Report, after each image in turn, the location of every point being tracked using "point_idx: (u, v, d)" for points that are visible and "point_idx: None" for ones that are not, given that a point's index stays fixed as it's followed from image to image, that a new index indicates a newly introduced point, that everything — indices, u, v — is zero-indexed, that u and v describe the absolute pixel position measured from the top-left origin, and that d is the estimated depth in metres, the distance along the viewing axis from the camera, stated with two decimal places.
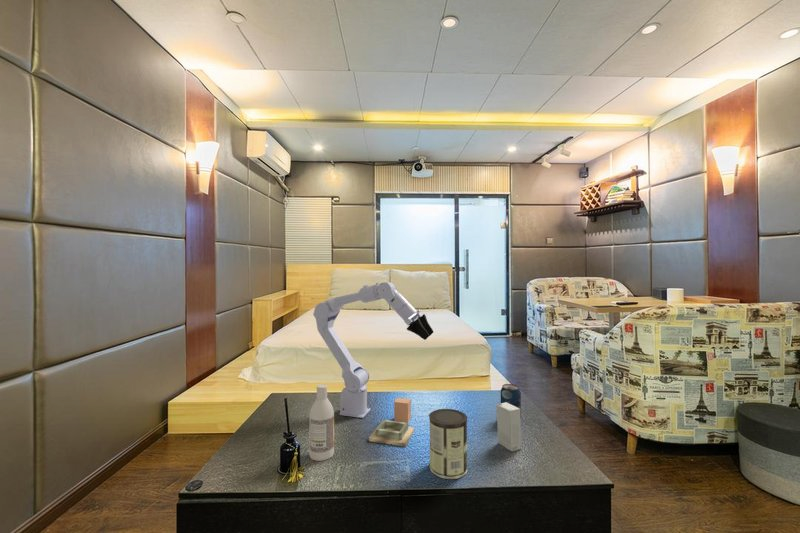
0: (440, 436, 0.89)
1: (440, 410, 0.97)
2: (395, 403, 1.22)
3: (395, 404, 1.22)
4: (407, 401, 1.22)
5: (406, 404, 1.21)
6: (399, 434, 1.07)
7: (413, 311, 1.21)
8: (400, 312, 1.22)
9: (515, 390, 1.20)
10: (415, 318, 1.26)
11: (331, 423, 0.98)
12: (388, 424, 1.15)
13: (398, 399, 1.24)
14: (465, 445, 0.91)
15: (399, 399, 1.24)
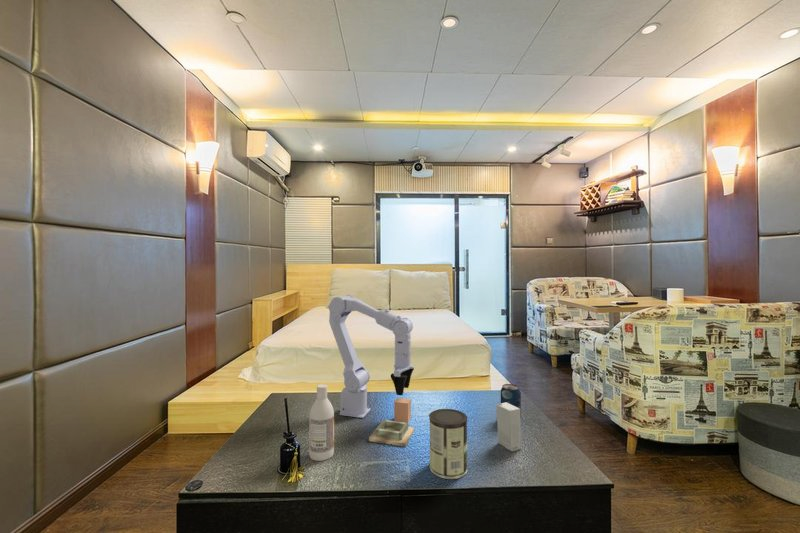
0: (440, 436, 0.89)
1: (440, 410, 0.97)
2: (395, 403, 1.22)
3: (395, 404, 1.22)
4: (407, 401, 1.22)
5: (406, 404, 1.21)
6: (399, 434, 1.07)
7: (407, 364, 1.21)
8: (397, 356, 1.21)
9: (515, 390, 1.20)
10: None
11: (331, 423, 0.98)
12: (388, 424, 1.15)
13: (398, 399, 1.24)
14: (465, 445, 0.91)
15: (399, 399, 1.24)
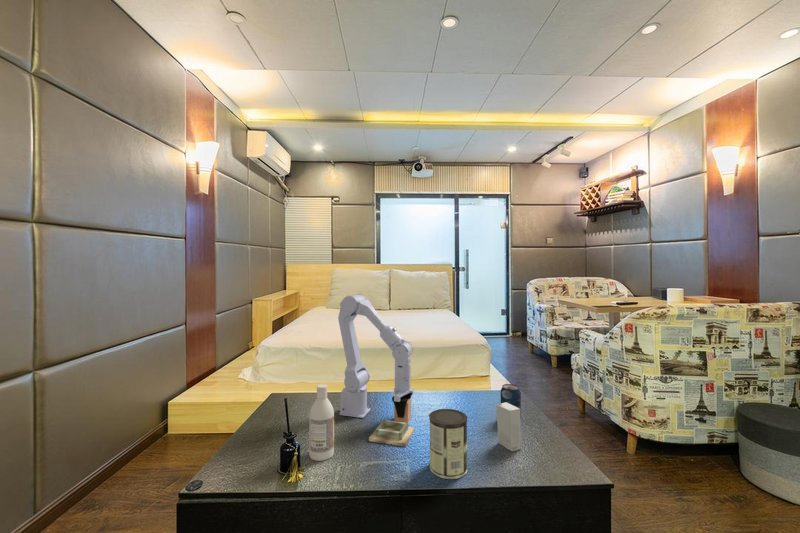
0: (440, 436, 0.89)
1: (440, 410, 0.97)
2: None
3: None
4: (407, 401, 1.22)
5: (406, 404, 1.20)
6: (399, 434, 1.07)
7: (407, 388, 1.21)
8: (397, 380, 1.21)
9: (515, 390, 1.20)
10: None
11: (331, 423, 0.98)
12: (388, 424, 1.15)
13: None
14: (465, 445, 0.91)
15: None
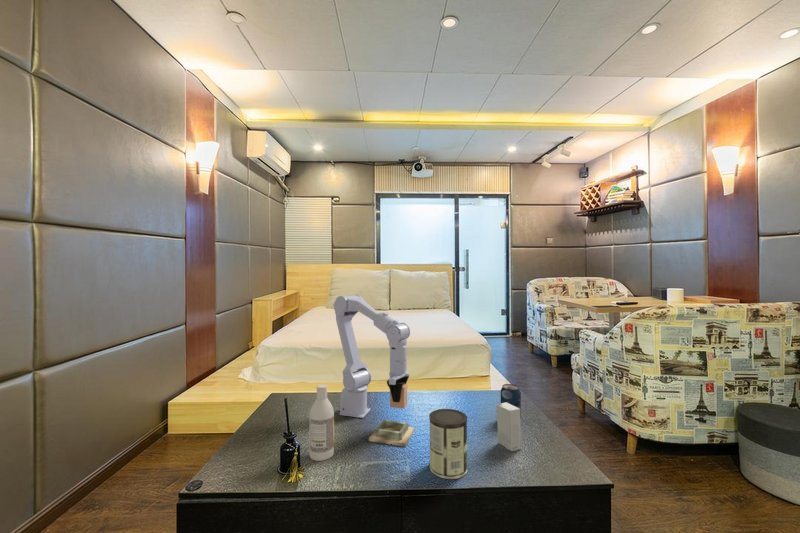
0: (440, 436, 0.89)
1: (440, 410, 0.97)
2: None
3: None
4: (403, 385, 1.17)
5: (402, 388, 1.15)
6: (399, 434, 1.07)
7: (403, 372, 1.16)
8: (392, 363, 1.16)
9: (515, 390, 1.20)
10: None
11: (331, 423, 0.98)
12: (388, 424, 1.15)
13: None
14: (465, 445, 0.91)
15: None
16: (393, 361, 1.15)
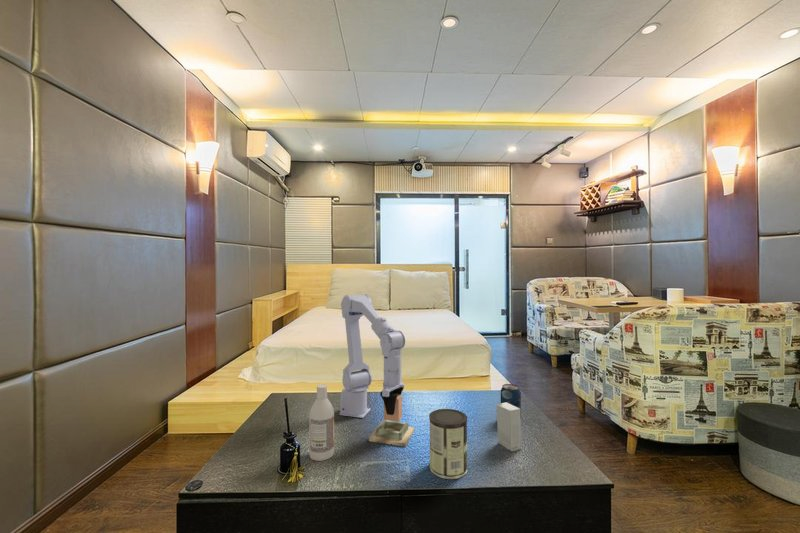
0: (440, 436, 0.89)
1: (440, 410, 0.97)
2: None
3: None
4: (398, 397, 1.11)
5: (397, 400, 1.09)
6: (399, 434, 1.07)
7: (397, 382, 1.09)
8: (386, 373, 1.09)
9: (515, 390, 1.20)
10: None
11: (331, 423, 0.98)
12: (388, 424, 1.15)
13: None
14: (465, 445, 0.91)
15: None
16: (387, 371, 1.09)
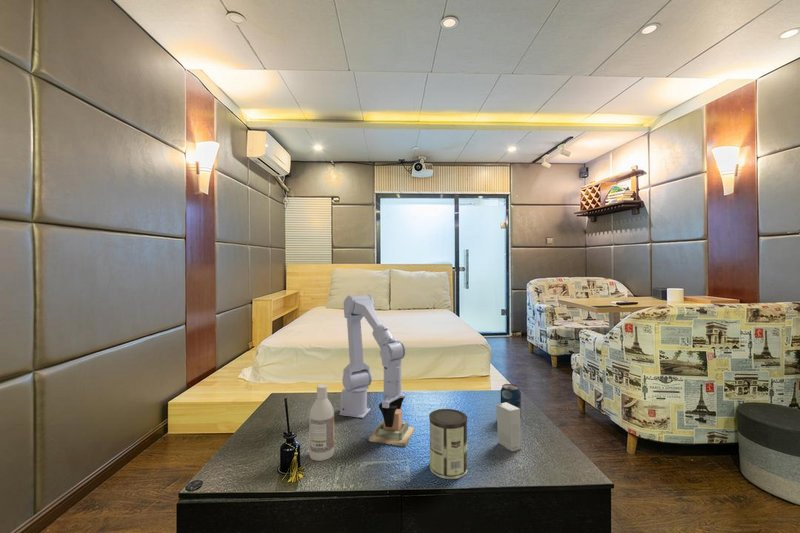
0: (440, 436, 0.89)
1: (440, 410, 0.97)
2: None
3: None
4: (398, 412, 1.11)
5: (396, 415, 1.09)
6: (399, 434, 1.07)
7: (397, 393, 1.09)
8: (386, 384, 1.09)
9: (515, 390, 1.20)
10: None
11: (331, 423, 0.98)
12: None
13: None
14: (465, 445, 0.91)
15: None
16: (387, 382, 1.09)
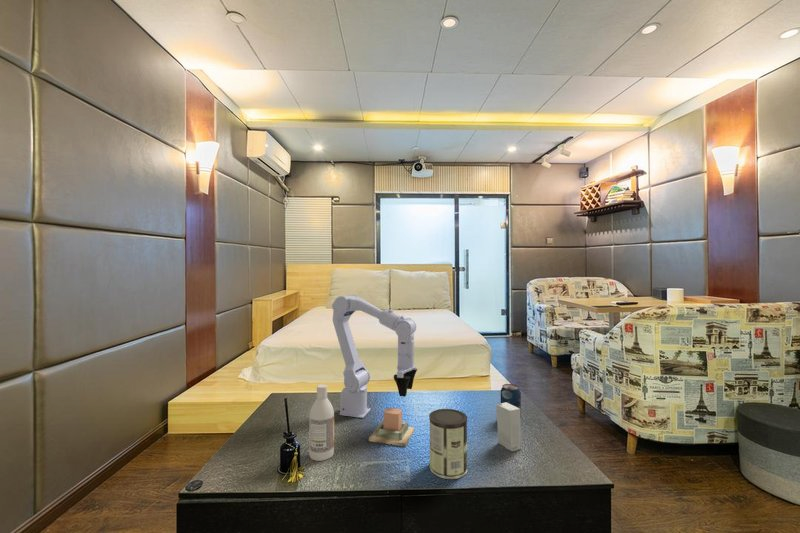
0: (440, 436, 0.89)
1: (440, 410, 0.97)
2: (384, 413, 1.10)
3: (384, 415, 1.10)
4: (398, 412, 1.11)
5: (396, 415, 1.09)
6: (399, 434, 1.07)
7: (410, 365, 1.19)
8: (400, 357, 1.20)
9: (515, 390, 1.20)
10: None
11: (331, 423, 0.98)
12: None
13: (388, 409, 1.12)
14: (465, 445, 0.91)
15: (389, 409, 1.12)
16: (401, 355, 1.19)
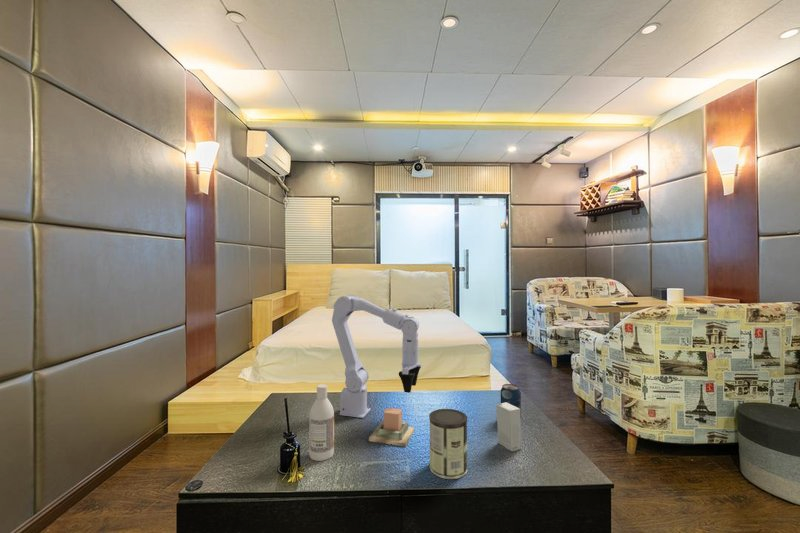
0: (440, 436, 0.89)
1: (440, 410, 0.97)
2: (384, 413, 1.10)
3: (384, 415, 1.10)
4: (398, 412, 1.11)
5: (396, 415, 1.09)
6: (399, 434, 1.07)
7: (415, 362, 1.23)
8: (405, 354, 1.23)
9: (515, 390, 1.20)
10: None
11: (331, 423, 0.98)
12: None
13: (388, 409, 1.12)
14: (465, 445, 0.91)
15: (389, 409, 1.12)
16: (406, 352, 1.23)
